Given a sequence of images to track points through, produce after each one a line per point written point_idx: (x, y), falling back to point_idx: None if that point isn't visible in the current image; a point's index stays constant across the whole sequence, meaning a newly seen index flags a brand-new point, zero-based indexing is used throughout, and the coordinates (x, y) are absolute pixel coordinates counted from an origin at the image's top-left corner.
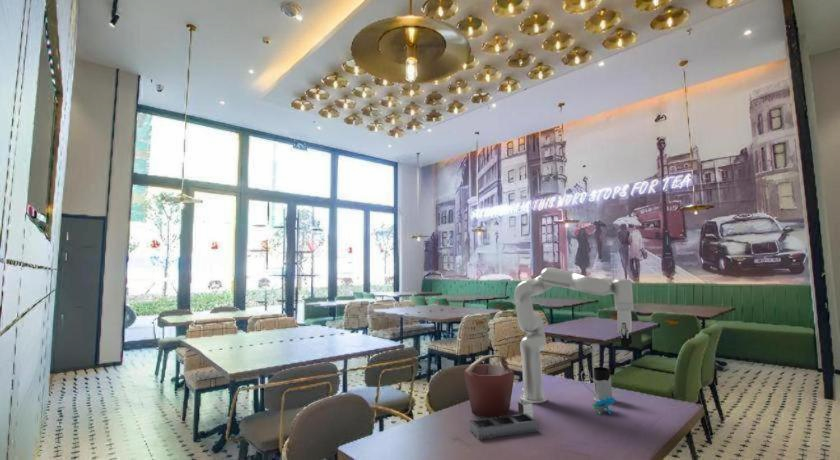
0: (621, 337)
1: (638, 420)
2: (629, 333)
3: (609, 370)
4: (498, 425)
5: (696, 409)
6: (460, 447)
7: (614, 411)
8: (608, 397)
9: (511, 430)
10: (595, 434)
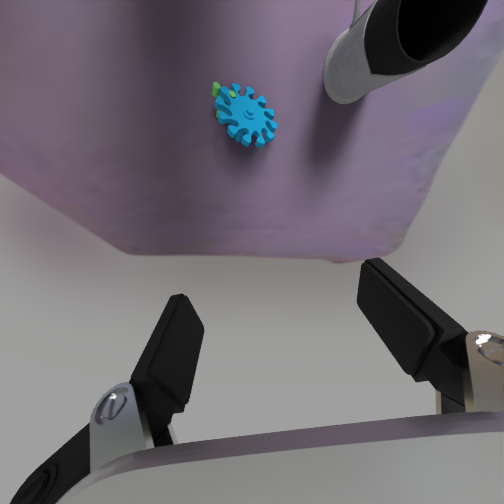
0: (105, 396)
1: (243, 202)
2: (440, 394)
3: (419, 63)
4: None
5: None
6: None
7: None
8: (339, 91)
9: None
10: (98, 160)
